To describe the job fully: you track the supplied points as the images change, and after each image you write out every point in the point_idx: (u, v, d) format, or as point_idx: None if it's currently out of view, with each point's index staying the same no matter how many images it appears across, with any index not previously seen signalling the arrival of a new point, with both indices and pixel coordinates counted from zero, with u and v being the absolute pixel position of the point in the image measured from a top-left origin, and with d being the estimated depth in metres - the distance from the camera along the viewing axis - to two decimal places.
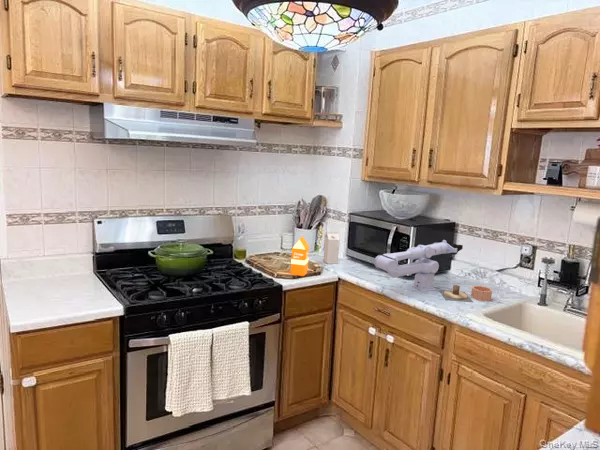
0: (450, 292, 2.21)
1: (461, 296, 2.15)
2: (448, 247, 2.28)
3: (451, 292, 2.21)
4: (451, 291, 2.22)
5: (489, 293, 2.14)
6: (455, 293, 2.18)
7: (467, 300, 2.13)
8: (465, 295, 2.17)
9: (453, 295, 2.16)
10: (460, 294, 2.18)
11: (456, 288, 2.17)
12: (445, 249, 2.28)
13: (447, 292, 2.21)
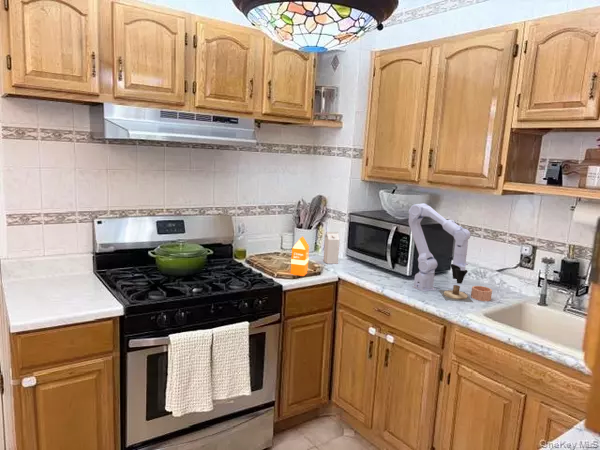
0: (450, 292, 2.21)
1: (461, 296, 2.15)
2: (462, 264, 2.13)
3: (451, 292, 2.21)
4: (451, 291, 2.22)
5: (489, 293, 2.14)
6: (455, 293, 2.18)
7: (467, 300, 2.13)
8: (465, 295, 2.17)
9: (453, 295, 2.16)
10: (460, 294, 2.18)
11: (456, 288, 2.17)
12: (461, 260, 2.13)
13: (447, 292, 2.20)
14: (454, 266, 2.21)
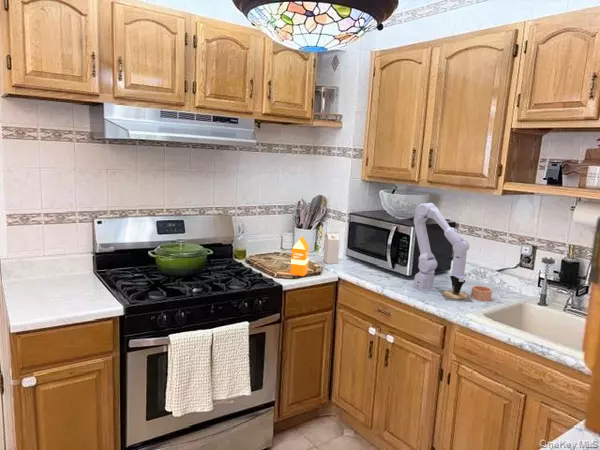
0: (450, 292, 2.21)
1: (461, 296, 2.15)
2: (461, 275, 2.14)
3: (451, 292, 2.21)
4: (451, 291, 2.22)
5: (489, 293, 2.14)
6: (455, 293, 2.18)
7: (467, 300, 2.13)
8: (465, 295, 2.17)
9: (453, 295, 2.16)
10: (460, 294, 2.18)
11: None
12: (459, 271, 2.14)
13: (447, 292, 2.20)
14: (454, 278, 2.19)
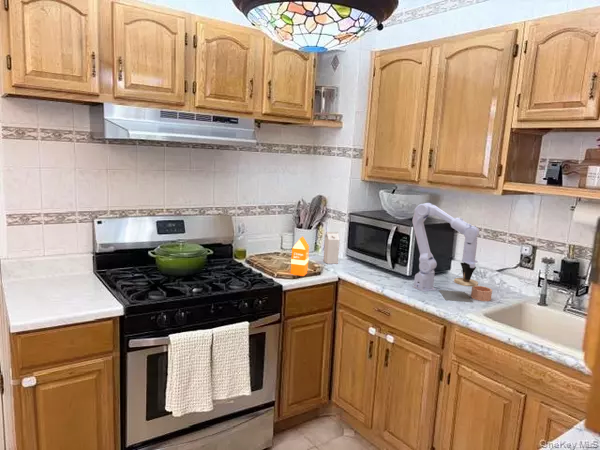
0: (461, 279, 2.19)
1: (472, 283, 2.14)
2: (472, 262, 2.13)
3: (461, 279, 2.19)
4: (461, 278, 2.21)
5: (489, 293, 2.14)
6: (465, 280, 2.16)
7: (467, 300, 2.13)
8: (476, 282, 2.16)
9: (464, 282, 2.15)
10: (470, 281, 2.17)
11: None
12: (470, 258, 2.13)
13: (457, 279, 2.19)
14: (464, 265, 2.18)
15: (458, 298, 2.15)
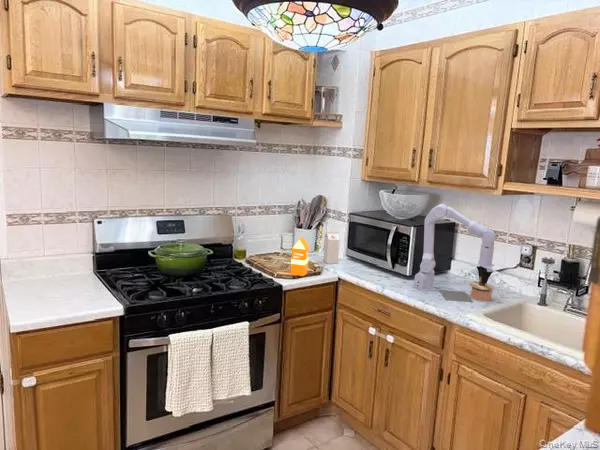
0: (476, 283, 2.19)
1: (488, 287, 2.14)
2: (488, 266, 2.12)
3: (477, 283, 2.19)
4: (477, 282, 2.21)
5: (489, 293, 2.14)
6: (482, 284, 2.16)
7: (467, 300, 2.13)
8: (491, 287, 2.15)
9: (480, 286, 2.14)
10: (486, 285, 2.17)
11: None
12: (487, 262, 2.12)
13: (473, 283, 2.19)
14: (481, 268, 2.18)
15: (458, 298, 2.15)
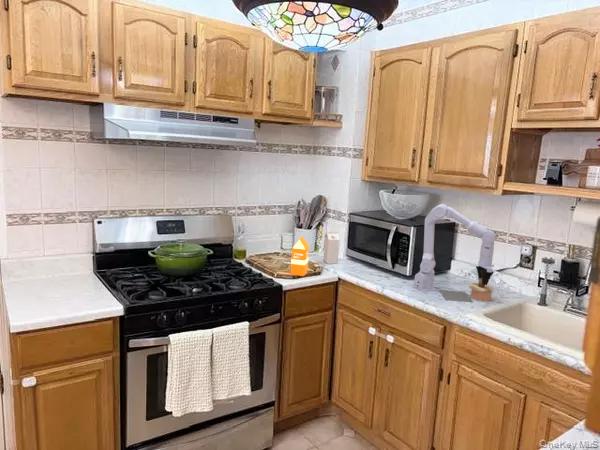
0: (476, 285, 2.19)
1: (487, 289, 2.14)
2: (488, 266, 2.12)
3: (477, 285, 2.19)
4: (476, 284, 2.21)
5: (489, 293, 2.14)
6: (481, 286, 2.16)
7: (467, 300, 2.13)
8: (491, 288, 2.16)
9: (479, 288, 2.15)
10: (486, 287, 2.17)
11: None
12: (487, 262, 2.12)
13: (473, 285, 2.19)
14: (480, 268, 2.19)
15: (458, 298, 2.15)
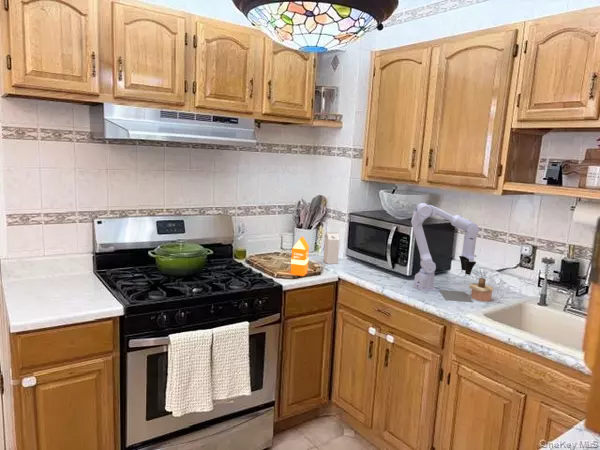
0: (476, 285, 2.19)
1: (487, 289, 2.14)
2: (471, 256, 2.22)
3: (477, 285, 2.19)
4: (476, 284, 2.21)
5: (489, 293, 2.14)
6: (481, 286, 2.16)
7: (467, 300, 2.13)
8: (491, 288, 2.16)
9: (479, 288, 2.15)
10: (486, 287, 2.17)
11: (482, 281, 2.15)
12: (469, 252, 2.21)
13: (473, 285, 2.19)
14: (463, 258, 2.29)
15: (458, 298, 2.15)
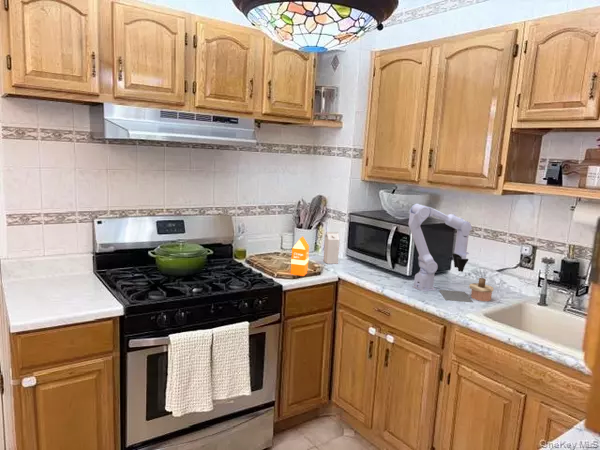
0: (476, 285, 2.19)
1: (487, 289, 2.14)
2: (463, 253, 2.26)
3: (477, 285, 2.19)
4: (476, 284, 2.21)
5: (489, 293, 2.14)
6: (481, 286, 2.16)
7: (467, 300, 2.13)
8: (491, 288, 2.16)
9: (479, 288, 2.15)
10: (486, 287, 2.17)
11: (482, 281, 2.15)
12: (462, 250, 2.26)
13: (473, 285, 2.19)
14: (455, 255, 2.33)
15: (458, 298, 2.15)
